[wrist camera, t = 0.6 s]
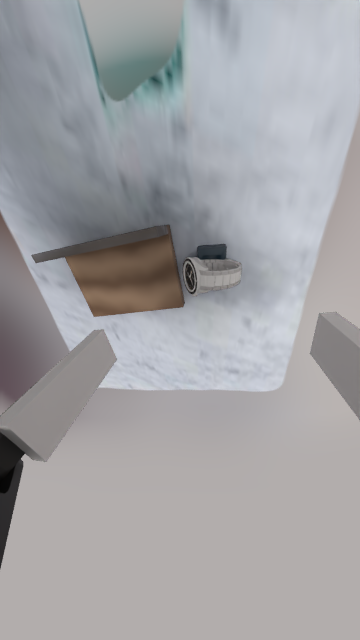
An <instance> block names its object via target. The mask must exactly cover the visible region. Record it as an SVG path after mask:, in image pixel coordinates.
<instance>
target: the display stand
mask: <svg viewBox="0 0 360 640" xmlns="http://www.w3.org/2000/svg"><path fill="white" fill-rule="evenodd" d="M31 256H32V258H33V259H34V261H35V263H39V262H44V261H48V260H53V259H58V258H62V257H65V259H66V261H67V263H68V265H69V267H70V269H71V271H72V273H73V275H74V277H75V279H76V281H77V283H78V285H79V287H80V289H81V291H82V293H83V295H84V297H85V299H86V301H87V303H88V306H89V308H90V310H91V312H92V314H93V316H94V317H97V316H106V315H116V314H125V313H134V312H143V311H152V310H161V309H170V308H179V307H183V306H184V303H185V302H184V297H183V292H182V287H181V282H180V277H179V272H178V267H177V261H176V256H175V251H174V246H173V241H172V236H171V231H170V226H169V225H164V226H156V227H151V228H147V229H143V230H138V231H134V232H130V233H125V234H121V235H116V236H112V237H108V238H103V239H99V240H95V241H90V242H86V243H82V244H77V245H73V246H68V247H64V248H60V249H55V250H51V251H47V252H42V253H38V254H34V255H31Z"/></svg>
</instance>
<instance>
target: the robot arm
mask: <svg viewBox="0 0 360 640" xmlns="http://www.w3.org/2000/svg"><path fill="white" fill-rule="evenodd" d="M310 354H311V355H312V357H313V358H314V360H315V361H316V362H317V364H318V365H319V366H320V368H321V369H322V370H323V371H324V373H325V374H326V376H327V377H328V378H329V380H330V381H331V382H332V384H333V385H334V386H335V388H336V389H337V390H338V392H339V393H340V394H341V396H342V397H343V398H344V399H345V401H346V402H347V404H348V405H349V406H350V408H351V409H352V410H353V412H354V413H355V414H356V416H357V417H358V418H359V420H360V329H359V328H358V327H356V326H355V325H354V324H352V323H351V322H349V321H348V320H347V319H345V318H344V317H342V316H341V315H340V314H338V313H337V312H328V313H319V316H318V320H317V325H316V329H315V333H314V338H313V342H312V347H311V352H310ZM116 360H117V358H116V356H115V354H114V352H113V349H112V347H111V345H110V343H109V341H108V338H107V336H106V334H105V332H104V330H94V331H93V332H92V333H90V334H89V335H88V336H87V337H86V338H85V339H84V340H83V341H82V342H81V343H80V344H78V345H77V346H76V347H75V348H74V349H73V350H72V351H71V352H70V353H69V354H68V355H66V356H65V357H64V358H63V359H62V360H61V361H60V362H59V363H58V364H57V365H56V366H54V367H53V368H52V369H51V370H50V371H49V372H48V373H47V374H46V375H45V376H44V377H43V378H42V379H40V380H39V381H38V382H37V383H35V385H33V386H32V387H31V388H30V389H29V390H28V391H27V392H26V393H25V394H24V395H22V397H21V398H19V399H18V400H17V401H16V402H15V403H14V404H13V405H11V406H10V407H9V408H8V409H7V410H6V411H5V412H4V413H3V414H2V415H1V416H0V568H1V563H2V559H3V554H4V550H5V546H6V541H7V536H8V532H9V528H10V523H11V519H12V514H13V510H14V505H15V500H16V496H17V492H18V487H19V483H20V478H21V473H22V469H23V461H22V460H21V458H22V456H23V455H24V454H26V455H28V456H29V457H30V458H31V459H32V460H36V461H44V462H46V461H47V460H48V459H49V457H50V456H51V454H52V453H53V452H54V450H55V448H56V447H57V446H58V444H59V443H60V441H61V440H62V438H63V437H64V436H65V434H66V433H67V431H68V429H69V428H70V427H71V425H72V424H73V422H74V421H75V420H76V418H77V417H78V415H79V414H80V412H81V411H82V409H83V408H84V407H85V405H86V404H87V402H88V401H89V399H90V398H91V396H92V395H93V394H94V392H95V391H96V389H97V388H98V386H99V385H100V383H101V382H102V380H103V379H104V378H105V376H106V375H107V373H108V372H109V370H110V369H111V367H112V366H113V365H114V363H115V362H116Z"/></svg>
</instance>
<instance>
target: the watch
mask: <svg viewBox="0 0 360 640" xmlns="http://www.w3.org/2000/svg"><path fill="white" fill-rule="evenodd" d="M226 248H227V246H226V245H225V244H218V245H203V246H198V248H197V249H198V258H197V257H192V258H190V257H188V258H186V259H185V260H184V263H183V278H184V283H185V286H186V288H187V290H188V292H189V293H190V294H192V296H197V294H198V293H206V292H208V291H209V290H212V287H213V290H223V289H228V288H231V287H234V286H236V285H237V284H239V283H240V279H241V270H242V264H241V263H239V262H237V261H233V260H231V259H226Z"/></svg>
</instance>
